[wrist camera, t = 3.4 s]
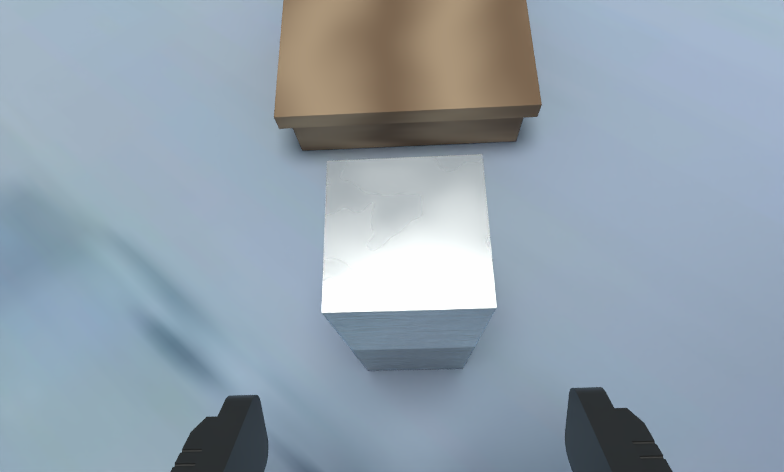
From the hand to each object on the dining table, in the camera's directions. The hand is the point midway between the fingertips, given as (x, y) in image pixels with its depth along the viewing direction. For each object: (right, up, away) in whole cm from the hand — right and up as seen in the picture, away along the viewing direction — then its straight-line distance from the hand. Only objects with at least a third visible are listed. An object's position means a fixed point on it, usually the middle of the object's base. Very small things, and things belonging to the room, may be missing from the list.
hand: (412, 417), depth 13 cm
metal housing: (+1, 0, +12) cm, 12 cm away
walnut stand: (0, +15, +18) cm, 23 cm away
